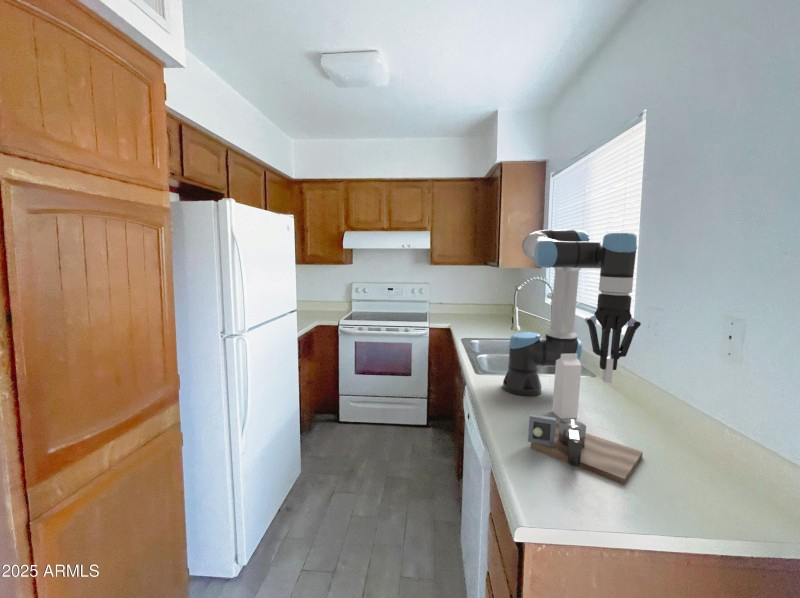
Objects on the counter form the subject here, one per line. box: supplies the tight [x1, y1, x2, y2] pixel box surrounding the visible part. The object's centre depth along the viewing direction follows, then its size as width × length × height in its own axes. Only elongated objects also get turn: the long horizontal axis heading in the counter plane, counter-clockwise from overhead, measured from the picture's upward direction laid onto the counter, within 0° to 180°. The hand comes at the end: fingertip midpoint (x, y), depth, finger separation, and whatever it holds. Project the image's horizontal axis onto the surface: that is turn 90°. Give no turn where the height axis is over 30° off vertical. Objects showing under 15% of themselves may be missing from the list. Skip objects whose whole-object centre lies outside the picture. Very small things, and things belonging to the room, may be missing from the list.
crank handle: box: [558, 418, 587, 467], centre depth 104 cm, size 18×7×6 cm, turn 158°
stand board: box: [530, 422, 644, 486], centre depth 107 cm, size 18×24×2 cm
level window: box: [527, 413, 557, 447], centre depth 108 cm, size 3×7×8 cm, turn 68°
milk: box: [551, 354, 582, 420], centre depth 130 cm, size 6×6×22 cm
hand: (606, 380), depth 101 cm, fingers closed
